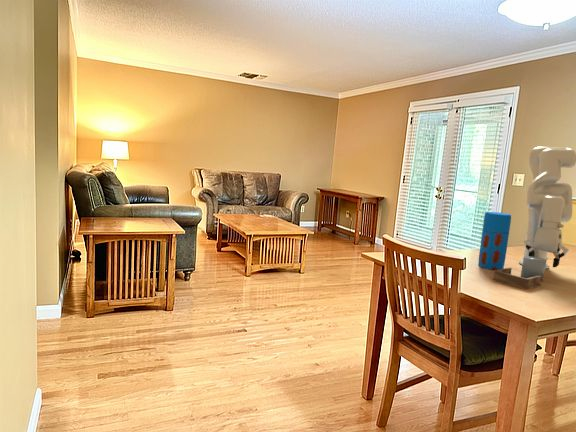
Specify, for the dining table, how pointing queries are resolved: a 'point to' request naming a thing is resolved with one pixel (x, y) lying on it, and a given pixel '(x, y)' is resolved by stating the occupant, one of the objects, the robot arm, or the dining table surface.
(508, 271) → the caddy
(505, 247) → the blue domino block
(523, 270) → the grey-blue mug
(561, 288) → the dining table surface
